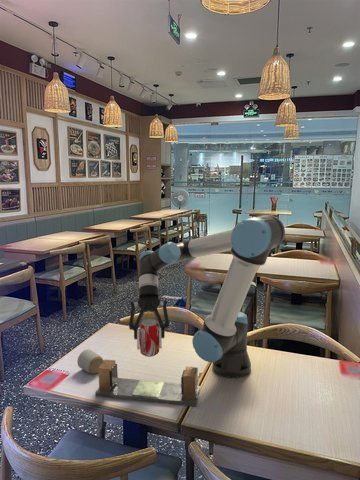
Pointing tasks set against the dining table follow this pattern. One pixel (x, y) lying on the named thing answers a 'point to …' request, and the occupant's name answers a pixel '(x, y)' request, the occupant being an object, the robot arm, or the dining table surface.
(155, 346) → the soda can
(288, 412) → the dining table surface
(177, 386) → the rail
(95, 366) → the ceramic mug
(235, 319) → the robot arm
